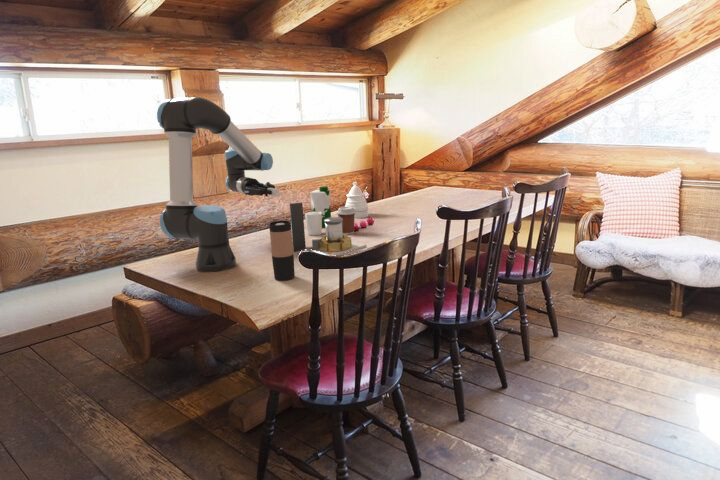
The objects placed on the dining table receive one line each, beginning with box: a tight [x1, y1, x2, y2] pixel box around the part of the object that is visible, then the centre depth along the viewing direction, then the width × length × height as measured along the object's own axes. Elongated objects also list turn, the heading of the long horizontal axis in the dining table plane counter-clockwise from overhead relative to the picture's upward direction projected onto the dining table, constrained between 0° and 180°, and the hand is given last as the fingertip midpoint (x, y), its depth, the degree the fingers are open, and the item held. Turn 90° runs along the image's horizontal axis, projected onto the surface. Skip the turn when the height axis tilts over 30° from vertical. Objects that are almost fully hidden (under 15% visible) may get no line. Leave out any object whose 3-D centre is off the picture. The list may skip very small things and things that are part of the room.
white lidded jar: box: [324, 216, 343, 243], centre depth 222 cm, size 8×8×13 cm
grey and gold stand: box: [289, 201, 352, 253], centre depth 218 cm, size 22×16×20 cm
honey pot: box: [344, 181, 369, 219], centre depth 287 cm, size 13×13×18 cm
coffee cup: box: [335, 206, 356, 235], centre depth 250 cm, size 9×9×12 cm
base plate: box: [316, 241, 367, 256], centre depth 223 cm, size 21×17×1 cm
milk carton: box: [309, 186, 332, 229], centre depth 265 cm, size 9×9×20 cm
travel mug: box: [268, 220, 296, 282], centre depth 186 cm, size 8×8×20 cm
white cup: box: [304, 211, 323, 236], centre depth 251 cm, size 8×8×10 cm
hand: (277, 192), depth 218 cm, fingers closed
